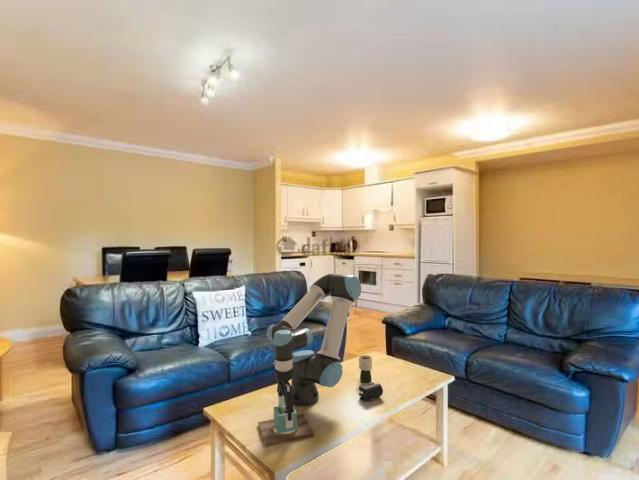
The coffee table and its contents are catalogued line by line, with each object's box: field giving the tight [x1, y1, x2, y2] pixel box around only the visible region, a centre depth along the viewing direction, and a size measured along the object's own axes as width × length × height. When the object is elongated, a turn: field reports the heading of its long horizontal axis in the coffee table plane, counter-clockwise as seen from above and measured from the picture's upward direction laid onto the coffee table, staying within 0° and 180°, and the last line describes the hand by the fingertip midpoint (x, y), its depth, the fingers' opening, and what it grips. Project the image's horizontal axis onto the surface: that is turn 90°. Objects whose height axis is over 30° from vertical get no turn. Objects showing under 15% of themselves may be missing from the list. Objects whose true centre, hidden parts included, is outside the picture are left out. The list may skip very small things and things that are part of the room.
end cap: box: [358, 381, 384, 403], centre depth 175 cm, size 10×7×7 cm
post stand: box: [257, 407, 315, 447], centre depth 148 cm, size 16×20×10 cm
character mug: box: [358, 354, 373, 383], centre depth 196 cm, size 11×7×13 cm, turn 137°
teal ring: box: [273, 405, 298, 433], centre depth 148 cm, size 8×8×7 cm
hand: (285, 418), depth 148 cm, fingers open, 13 cm apart
